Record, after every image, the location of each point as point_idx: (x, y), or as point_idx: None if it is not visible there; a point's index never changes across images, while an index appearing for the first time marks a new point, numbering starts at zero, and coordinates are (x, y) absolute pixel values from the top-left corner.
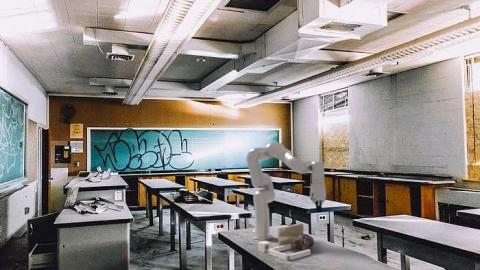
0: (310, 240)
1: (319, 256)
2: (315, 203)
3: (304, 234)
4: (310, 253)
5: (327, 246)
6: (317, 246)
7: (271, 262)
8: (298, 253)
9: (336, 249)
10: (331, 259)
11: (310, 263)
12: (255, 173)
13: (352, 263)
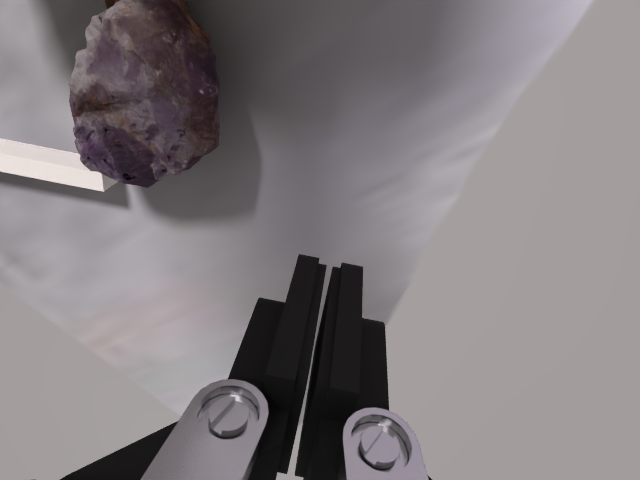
0: (135, 168)
1: (136, 240)
2: (127, 477)
3: (130, 81)
4: (114, 181)
5: (379, 171)
6: (328, 106)
7: None
8: None
9: (345, 253)
10: (149, 308)
11: (6, 260)
12: None
13: (179, 391)
